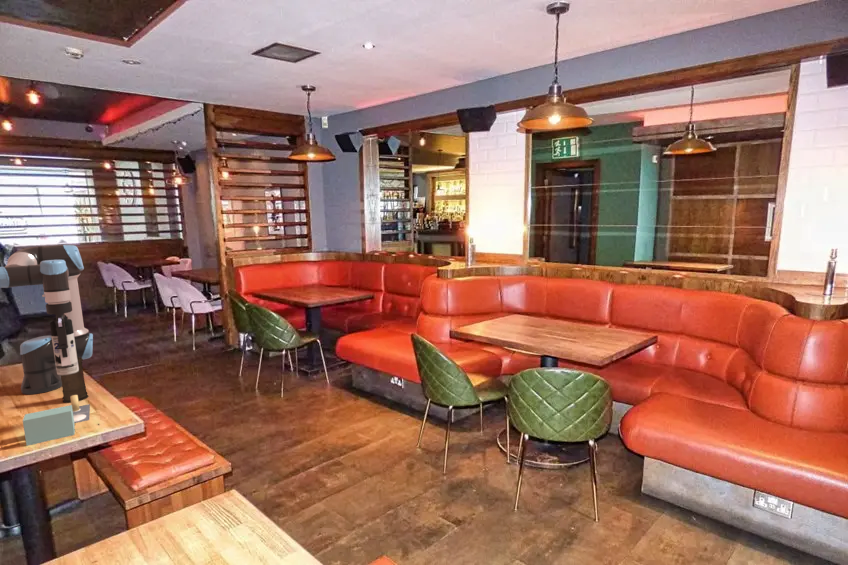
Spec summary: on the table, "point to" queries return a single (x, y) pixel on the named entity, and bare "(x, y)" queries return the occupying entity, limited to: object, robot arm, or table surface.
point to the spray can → (72, 349)
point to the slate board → (79, 410)
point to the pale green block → (48, 425)
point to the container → (74, 384)
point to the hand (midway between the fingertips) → (67, 362)
